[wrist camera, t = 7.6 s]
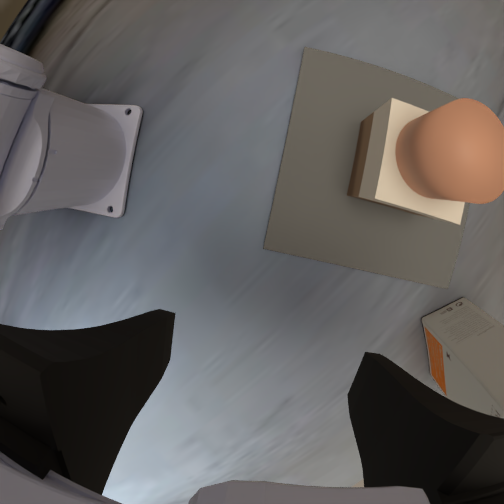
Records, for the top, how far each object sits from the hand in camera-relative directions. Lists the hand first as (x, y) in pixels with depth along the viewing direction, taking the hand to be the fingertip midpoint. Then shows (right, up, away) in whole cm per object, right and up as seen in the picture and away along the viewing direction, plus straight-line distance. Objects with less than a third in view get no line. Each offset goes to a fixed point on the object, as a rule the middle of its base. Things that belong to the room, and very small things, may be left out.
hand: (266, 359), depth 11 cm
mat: (+8, +9, +8) cm, 15 cm away
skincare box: (+15, -3, +10) cm, 18 cm away
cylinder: (+8, +8, +2) cm, 12 cm away
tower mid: (+8, +9, +5) cm, 13 cm away
